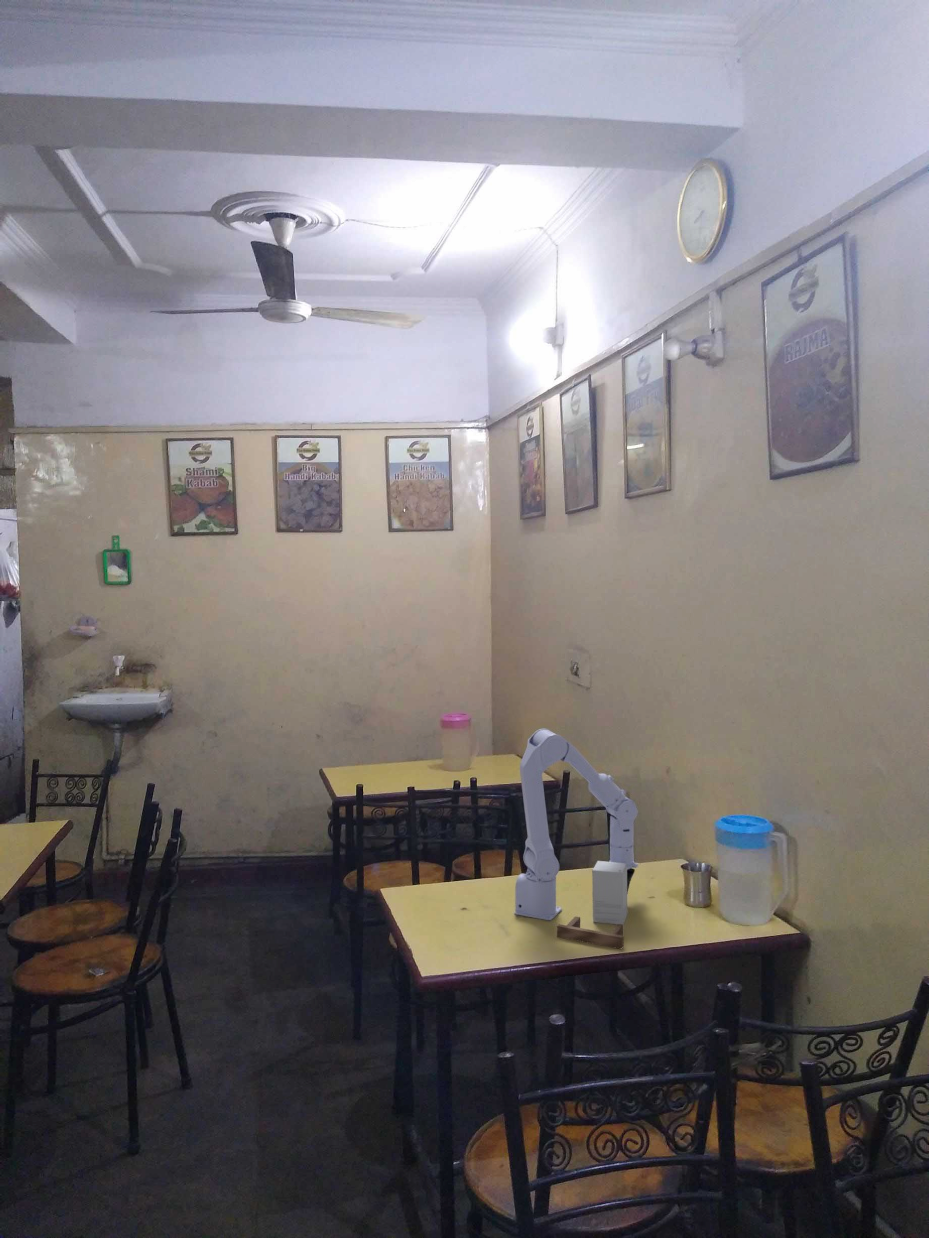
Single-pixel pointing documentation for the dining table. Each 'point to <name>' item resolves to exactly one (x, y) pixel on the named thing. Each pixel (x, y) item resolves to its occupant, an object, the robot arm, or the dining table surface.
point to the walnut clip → (591, 934)
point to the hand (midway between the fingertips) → (621, 898)
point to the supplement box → (609, 892)
